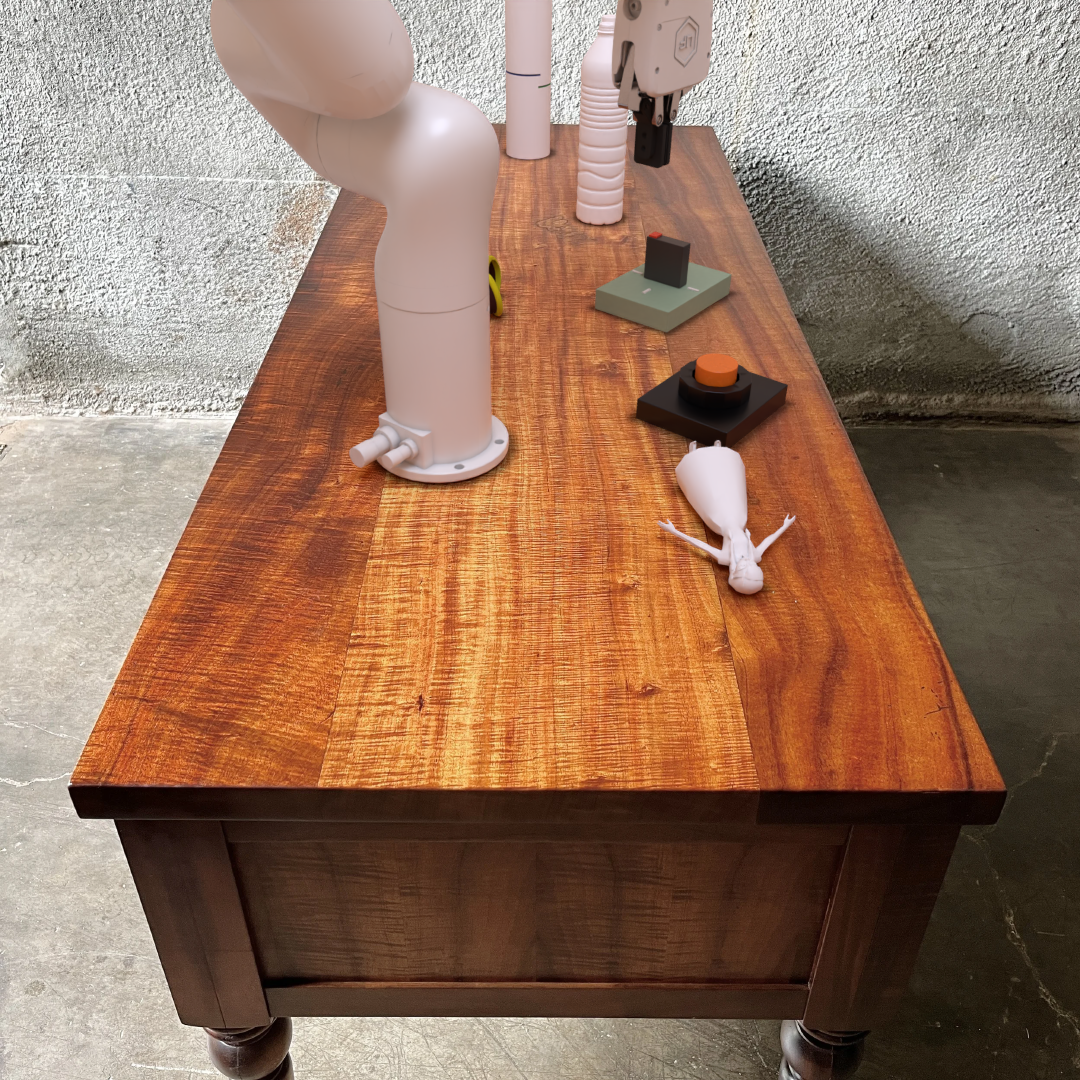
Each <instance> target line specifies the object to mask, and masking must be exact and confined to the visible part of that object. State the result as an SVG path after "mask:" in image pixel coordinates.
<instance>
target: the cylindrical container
mask: <svg viewBox="0 0 1080 1080" xmlns="http://www.w3.org/2000/svg"><path fill="white" fill-rule="evenodd" d="M552 35H553V0H504V42H505V43H504V44H505V45H504V48H505V49H504V50H505V52H504V53H505V56H504V57H505V140H506V141H505V144H506V145H505V146H506V149H505V150H506V151H505V152H506V155H507V156H509V157H511V158H513V159H518V160H538V159H543V158H546V157H548V156H550V153H551V110H552V109H551V107H552V106H551V105H552V102H551V101H552V48H553V47H552V45H553V44H552V43H553V41H552V40H553V36H552Z"/></svg>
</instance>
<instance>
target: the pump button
mask: <svg viewBox="0 0 1080 1080" xmlns="http://www.w3.org/2000/svg"><path fill="white" fill-rule="evenodd" d="M697 358H698V359H697ZM697 358H696V359H697V361H696V370H695V379H696V381H697V382H699V383H702V384H704V385H707V386H716V387H725V386H730V385H733V384H735V382H736V378H737V371H738V364H739V362H738V361H737V359H735V358H734V357H732V356H731V355H727V354H723V353H716V352H713V353H705V354H702V355H700V356H699V357H697Z"/></svg>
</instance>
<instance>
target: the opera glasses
mask: <svg viewBox="0 0 1080 1080" xmlns="http://www.w3.org/2000/svg"><path fill="white" fill-rule="evenodd" d="M501 288H502V270H501V265H500V263H499V261H498V259H497V258H496V257H495V256H494V255H492V254H491V255H490V254H489V301H490V315H491V314H492V315H493V314H494V315H495V316H496V317H500V316H502V314H503V312H504V303H503V299H502V295H501Z"/></svg>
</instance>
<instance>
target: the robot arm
mask: <svg viewBox="0 0 1080 1080" xmlns="http://www.w3.org/2000/svg"><path fill="white" fill-rule="evenodd" d="M616 4H617V5H616V12H615V15H616V18H615V26H614V36H613V49H612V81H613V85H614V86H615V88H616V89H618V90H620V92H619V98H618V107H619V108H623V109H627V110H628V111H631V113H632V120H633V121H634V122H635V132H634V133H635V134H634V147H633V148H634V149H633V161H634V162H635V163H636V164H638V165H642V166H646V167H650V168H653V169H660V168H662V167H665V166H668V165H669V164H670V163H671V154H672V153H671V151H672V141H673V139H672V138H673V127H674V122H675V121H676V119H677V118H678V112H679V107H680V102H681V100H682V98H683V97H684V96H685V95H686V94H688V93H689V92H691V91H692V90H693V88H694V86H697V85H700V84H701V83H703V81H705V80H706V78H707V77H708V76H709V72H710V64H711V56H712V55H711V53H712V38H713V18H714V17H713V16H714V0H617V3H616ZM209 14H210V15H209V16H210V17H209V23H210V24H209V25H210V33H211V39H212V44H213V46H214V50H215V53H216V56H217V58H218V60H219V62H220V64H221V67H222V68H223V70H224V72H225V74H226V75H227V77H228V78H229V80H230V81H231V82H232V84H233V85H234V87H236V89H237V90H238V91H239V93H241V95H242V96H243V97H244V98H245V99H246V101H248V102H249V103H250V105H251V106H252V107H253V108H254V109H255V110H256V112H257V113H259V114H260V116H262V118H263V119H264V121H266V122H267V123H268V125H270V127H272V129H273V130H274V131H275V132H276V133H277V135H279V136H280V137H281V138H282V139H283V140H284V141H285V143H287V145H288V146H289V147H290V148H291V149H292V150H293V151H294V152H295V154H297V156H299V158H300V159H301V160H302V161H304V163H305V164H306V165H307V166H309V168H311V169H312V170H313V171H315V173H316V174H318V176H320V177H321V178H323V179H324V180H325V181H327V182H329V183H331V184H332V185H335V186H336V187H339V188H341V189H343V190H346V191H348V192H350V193H353V194H355V195H358V196H361V197H364V198H366V199H369V200H371V201H373V202H375V203H377V204H380V205H382V206H384V207H385V209H386V222H385V225H384V228H383V231H382V233H381V236H380V238H379V239H378V243H377V247H376V250H375V253H374V254H375V255H374V264H373V272H374V287H375V288H374V289H375V294H376V305H377V316H378V327H379V338H380V339H379V340H380V349H381V351H380V352H381V362H382V372H383V383H384V394H385V406H386V407H385V408H386V411H385V412H383V413H381V414H379V415H378V425H379V426H378V427H377V428H376V429H375V431H374V433H373V434H372V435H373V436H372V437H370V438H368V439H366V440H364V441H361V442H360V443H358V444H356V445H354V446H353V447H351V448H350V449H349V451H348V453H349V458H350V460H351V462H352V463H353V464H354V466H356V467H357V468H360V469H362V468H365V467H366V466H367V465H369V464H371V463H373V462H374V461H377V463H378V464H379V465H380V466H381V467H382V468H383V469H385V470H386V471H388V472H390V473H391V474H392V475H393V474H394V475H396V476H398V477H400V478H402V479H407V480H410V481H414V482H421V483H432V484H434V483H435V484H441V483H442V484H443V483H454V482H460V481H465V480H469V479H472V478H475V477H478V476H480V475H483V474H485V473H487V472H489V471H490V470H492V469H494V468H495V467H497V466H498V465H499V464H500V463H501V462H502V461H503V460H504V459H505V457H506V456H507V454H508V450H509V447H510V438H509V437H510V434H509V432H508V429H507V427H506V426H505V424H504V423H503V421H501V420H500V419H499V418H498V417H497V416H495V415H494V414H493V413H492V410H493V409H492V407H493V406H492V358H491V356H492V355H491V314H490V301H489V255H490V232H491V221H492V213H493V206H494V202H495V196H496V190H497V185H498V181H499V180H498V179H499V174H500V163H501V152H500V145H499V140H498V139H499V138H498V136H497V133H496V131H495V129H494V126H493V125H492V123H491V121H490V120H489V118H488V117H487V116H486V114H484V112H483V111H482V110H481V109H480V108H479V107H478V106H476V104H474V102H473V103H472V101H470V100H468V99H466V98H464V97H463V96H461V95H459V94H457V93H454V92H452V91H450V90H447V89H444V88H441V87H437V86H433V85H430V84H426V83H423V82H419V81H416V80H413V78H414V71H415V55H414V50H413V49H414V48H413V45H412V41H411V39H410V35H409V33H408V30H407V28H406V27H405V24H404V22H403V20H402V18H401V17H400V15H399V13H398V12H397V10H396V9H395V7H394V5H393V4H392V2H391V1H390V0H212V1H211V6H210V13H209Z"/></svg>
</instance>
